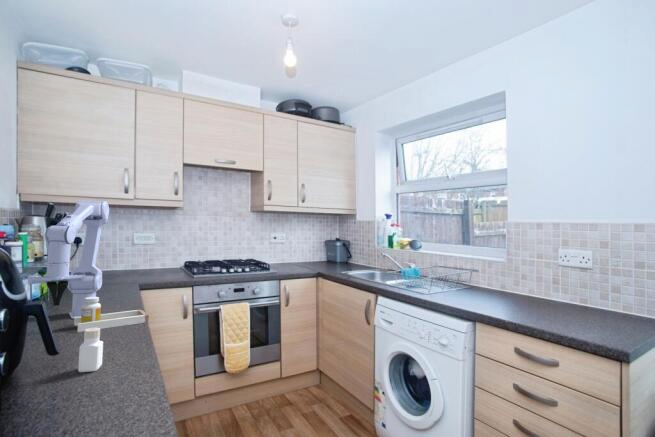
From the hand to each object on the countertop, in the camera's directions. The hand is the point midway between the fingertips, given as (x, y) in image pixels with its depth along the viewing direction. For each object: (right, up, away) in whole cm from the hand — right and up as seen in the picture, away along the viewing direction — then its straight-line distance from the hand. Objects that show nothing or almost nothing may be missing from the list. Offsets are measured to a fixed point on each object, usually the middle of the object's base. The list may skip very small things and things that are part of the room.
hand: (56, 305), depth 109 cm
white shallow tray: (+12, -9, +10) cm, 18 cm away
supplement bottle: (+7, -9, +6) cm, 13 cm away
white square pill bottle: (+31, -9, -28) cm, 42 cm away
